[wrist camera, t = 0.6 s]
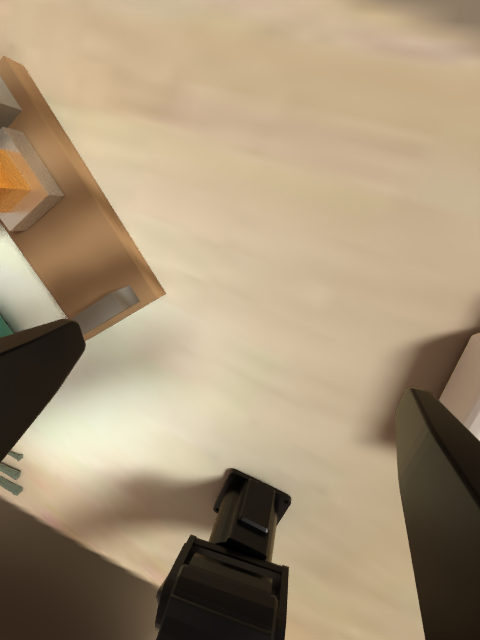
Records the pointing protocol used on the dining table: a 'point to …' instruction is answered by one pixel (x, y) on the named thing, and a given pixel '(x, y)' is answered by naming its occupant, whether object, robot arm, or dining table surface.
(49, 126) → the brown piece
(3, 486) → the cutlery set
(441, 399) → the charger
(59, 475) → the dining table surface
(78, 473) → the dining table surface
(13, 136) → the orange wooden beam
